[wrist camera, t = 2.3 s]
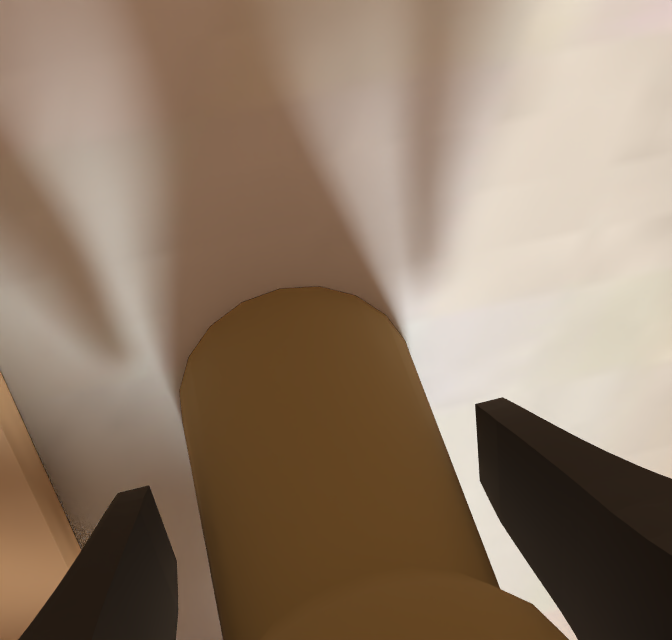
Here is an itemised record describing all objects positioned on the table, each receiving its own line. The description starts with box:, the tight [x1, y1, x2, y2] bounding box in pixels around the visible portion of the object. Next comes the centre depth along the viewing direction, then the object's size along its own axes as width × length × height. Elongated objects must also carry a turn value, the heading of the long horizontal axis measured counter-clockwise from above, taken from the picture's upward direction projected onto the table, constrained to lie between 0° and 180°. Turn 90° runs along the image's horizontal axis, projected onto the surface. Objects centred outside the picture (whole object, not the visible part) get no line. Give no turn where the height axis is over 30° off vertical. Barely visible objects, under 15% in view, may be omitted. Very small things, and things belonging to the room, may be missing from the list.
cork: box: [179, 287, 569, 640], centre depth 10 cm, size 6×6×11 cm
